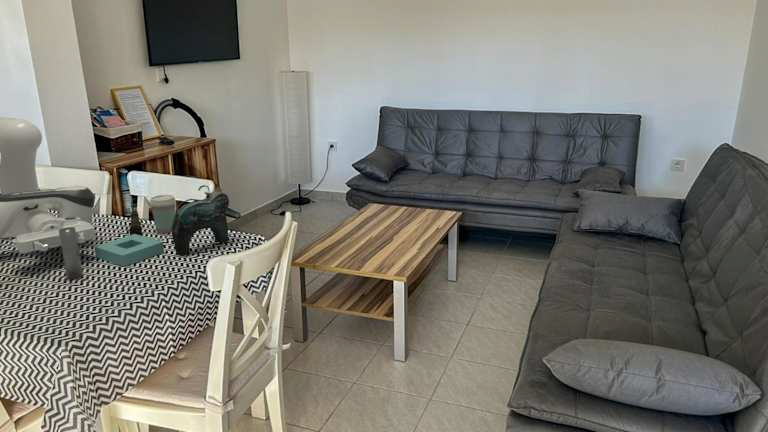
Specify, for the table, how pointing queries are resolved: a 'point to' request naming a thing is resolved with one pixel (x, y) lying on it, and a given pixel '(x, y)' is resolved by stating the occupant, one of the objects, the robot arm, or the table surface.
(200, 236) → the table surface
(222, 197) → the ceramic cat
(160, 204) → the coffee cup
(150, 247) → the socket block
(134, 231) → the hand tool
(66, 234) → the steel pin
